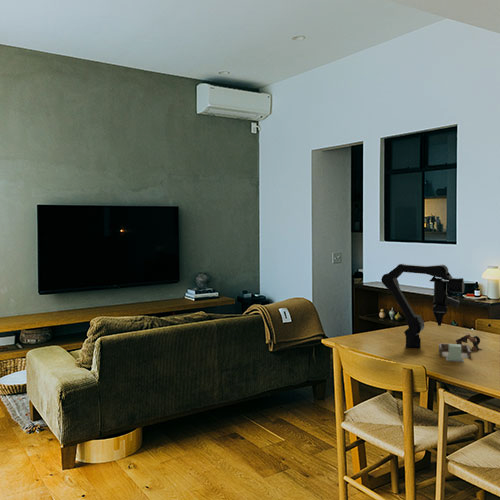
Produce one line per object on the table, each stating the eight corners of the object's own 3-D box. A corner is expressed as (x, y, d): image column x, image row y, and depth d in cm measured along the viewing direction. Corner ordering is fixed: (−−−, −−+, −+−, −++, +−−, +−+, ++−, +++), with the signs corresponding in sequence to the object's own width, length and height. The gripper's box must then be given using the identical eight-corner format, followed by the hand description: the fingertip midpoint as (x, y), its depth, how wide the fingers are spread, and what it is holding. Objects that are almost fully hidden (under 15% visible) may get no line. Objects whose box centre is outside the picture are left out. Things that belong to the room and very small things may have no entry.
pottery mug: (471, 354, 240) (461, 337, 243) (458, 358, 249) (449, 342, 251) (488, 344, 245) (479, 329, 247) (476, 349, 253) (467, 334, 256)
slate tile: (446, 361, 226) (446, 360, 226) (445, 357, 232) (445, 356, 232) (463, 362, 223) (463, 361, 223) (462, 358, 230) (462, 357, 230)
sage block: (448, 359, 226) (449, 346, 226) (448, 357, 231) (448, 343, 231) (461, 360, 225) (461, 347, 224) (460, 357, 229) (460, 344, 229)
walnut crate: (439, 357, 233) (439, 349, 233) (438, 350, 246) (438, 343, 246) (470, 359, 229) (470, 351, 229) (468, 352, 242) (468, 345, 242)
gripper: (459, 294, 232) (458, 329, 233) (458, 289, 250) (457, 321, 250) (433, 293, 236) (432, 327, 237) (433, 288, 253) (432, 320, 254)
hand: (439, 323), depth 245 cm, fingers open, 9 cm apart
